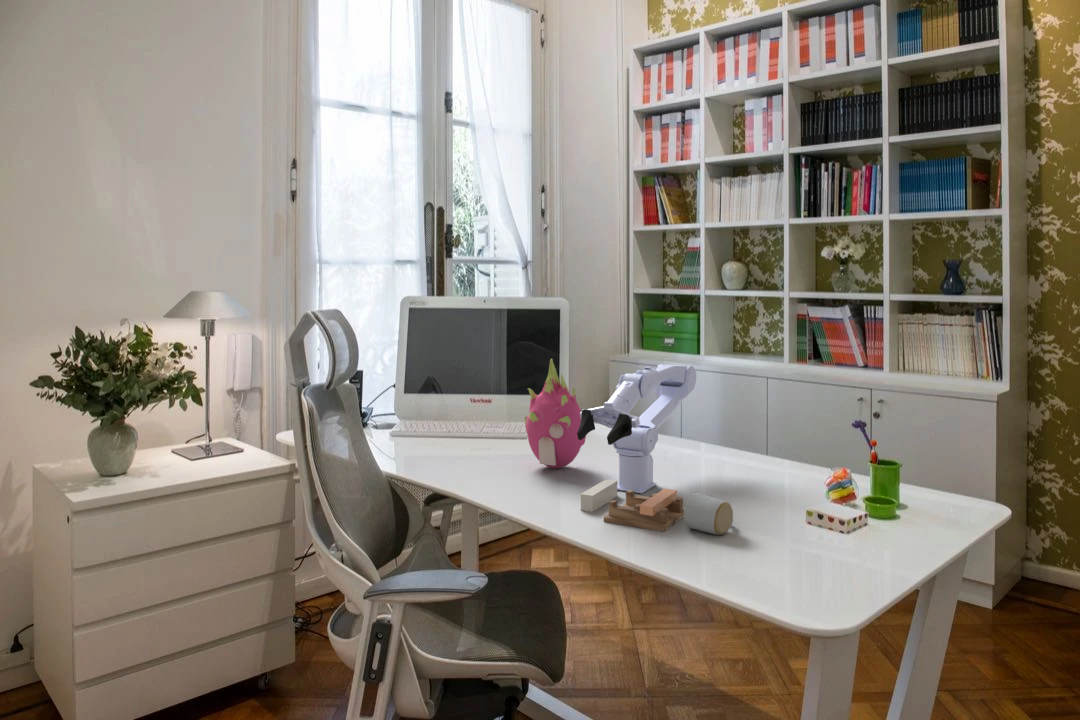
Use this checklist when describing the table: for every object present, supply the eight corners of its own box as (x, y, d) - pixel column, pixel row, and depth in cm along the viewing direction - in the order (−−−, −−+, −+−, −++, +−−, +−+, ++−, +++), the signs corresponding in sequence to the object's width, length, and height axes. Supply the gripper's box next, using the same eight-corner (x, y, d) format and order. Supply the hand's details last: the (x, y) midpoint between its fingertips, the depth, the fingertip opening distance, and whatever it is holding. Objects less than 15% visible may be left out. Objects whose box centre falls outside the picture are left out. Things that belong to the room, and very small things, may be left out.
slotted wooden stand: (630, 504, 189) (630, 487, 189) (687, 513, 182) (687, 496, 181) (603, 521, 177) (603, 503, 177) (663, 531, 170) (663, 513, 170)
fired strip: (664, 497, 184) (664, 488, 184) (677, 498, 183) (677, 490, 183) (639, 513, 172) (639, 504, 172) (652, 516, 171) (652, 506, 171)
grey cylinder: (716, 540, 165) (717, 503, 164) (682, 531, 170) (682, 495, 169) (742, 528, 172) (743, 492, 172) (708, 520, 178) (709, 486, 177)
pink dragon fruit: (516, 471, 220) (514, 361, 216) (532, 460, 232) (531, 356, 229) (579, 476, 214) (579, 363, 210) (593, 464, 227) (592, 357, 223)
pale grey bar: (605, 495, 198) (605, 479, 197) (617, 497, 196) (617, 480, 196) (580, 511, 186) (580, 494, 185) (592, 512, 184) (592, 495, 184)
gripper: (589, 388, 195) (562, 420, 186) (644, 395, 188) (619, 428, 178) (594, 412, 199) (568, 444, 189) (648, 420, 191) (624, 454, 182)
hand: (593, 438), depth 184 cm, fingers open, 7 cm apart
